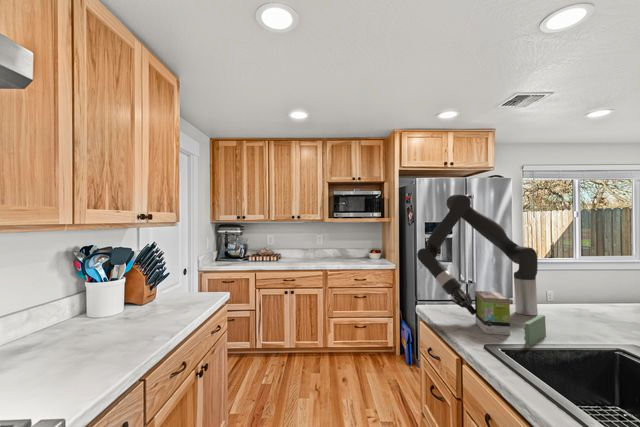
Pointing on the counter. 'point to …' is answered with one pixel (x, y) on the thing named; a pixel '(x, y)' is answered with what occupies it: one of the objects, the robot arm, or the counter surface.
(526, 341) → the bracket
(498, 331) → the tea box
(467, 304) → the robot arm
